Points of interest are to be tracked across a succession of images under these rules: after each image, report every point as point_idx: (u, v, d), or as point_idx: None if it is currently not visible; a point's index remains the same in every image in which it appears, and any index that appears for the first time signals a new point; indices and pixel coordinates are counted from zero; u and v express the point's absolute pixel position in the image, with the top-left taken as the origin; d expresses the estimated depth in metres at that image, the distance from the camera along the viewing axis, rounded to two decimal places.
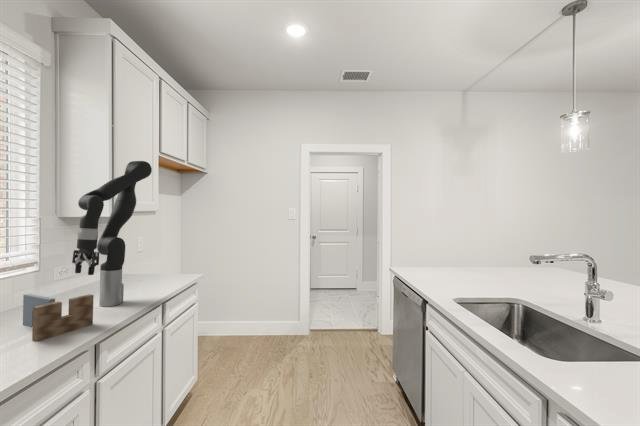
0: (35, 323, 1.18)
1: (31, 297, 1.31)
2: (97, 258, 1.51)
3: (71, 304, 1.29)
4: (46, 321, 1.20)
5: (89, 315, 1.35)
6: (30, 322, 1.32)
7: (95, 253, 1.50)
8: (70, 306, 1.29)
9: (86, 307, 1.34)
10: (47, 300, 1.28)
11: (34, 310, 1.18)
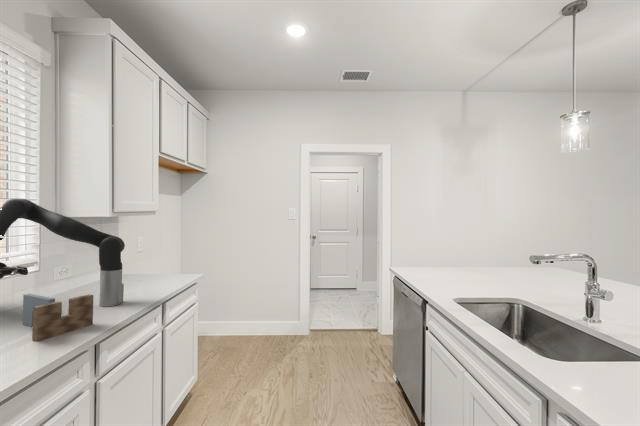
0: (35, 323, 1.18)
1: (31, 297, 1.31)
2: None
3: (71, 304, 1.29)
4: (46, 321, 1.20)
5: (89, 315, 1.35)
6: (30, 322, 1.32)
7: None
8: (70, 306, 1.29)
9: (86, 307, 1.34)
10: (47, 300, 1.28)
11: (34, 310, 1.18)
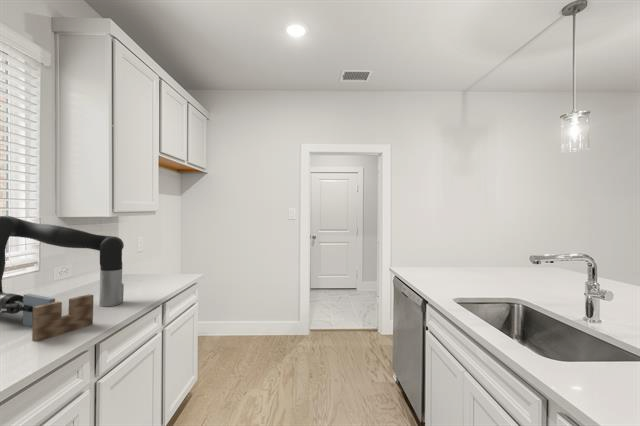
0: (35, 323, 1.18)
1: (31, 297, 1.31)
2: (8, 308, 1.30)
3: (71, 304, 1.29)
4: (46, 321, 1.20)
5: (89, 315, 1.35)
6: (30, 322, 1.32)
7: (2, 311, 1.29)
8: (70, 306, 1.29)
9: (86, 307, 1.34)
10: (47, 300, 1.28)
11: (34, 310, 1.18)
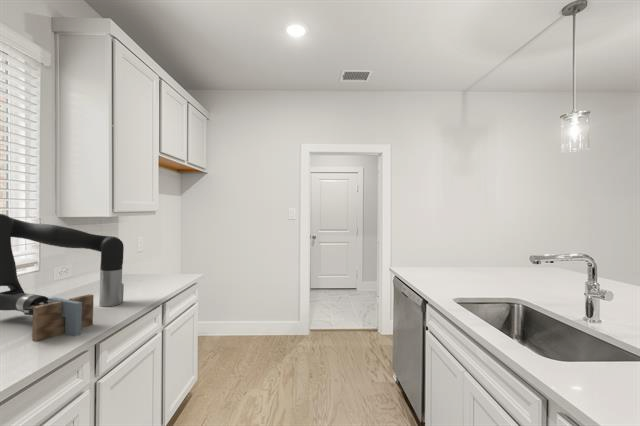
0: (35, 323, 1.18)
1: None
2: (30, 310, 1.25)
3: None
4: (46, 321, 1.20)
5: (89, 315, 1.35)
6: None
7: (24, 312, 1.25)
8: None
9: (86, 307, 1.34)
10: (74, 304, 1.24)
11: (34, 310, 1.18)
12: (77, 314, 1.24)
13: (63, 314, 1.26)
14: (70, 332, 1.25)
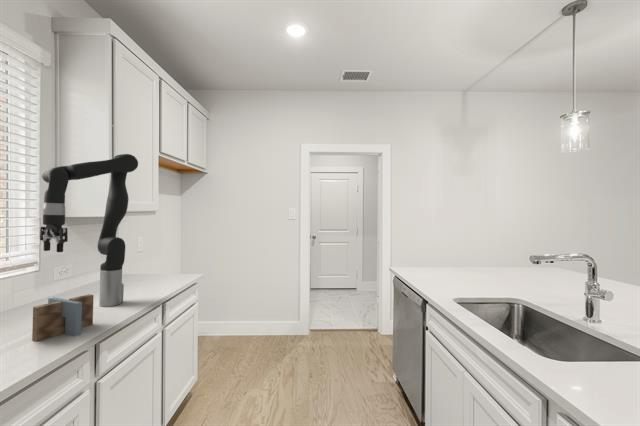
0: (35, 323, 1.18)
1: None
2: (65, 234, 1.42)
3: None
4: (46, 321, 1.20)
5: (89, 315, 1.35)
6: None
7: (62, 229, 1.41)
8: None
9: (86, 307, 1.34)
10: (74, 304, 1.24)
11: (34, 310, 1.18)
12: (77, 314, 1.24)
13: (63, 314, 1.26)
14: (70, 332, 1.25)
